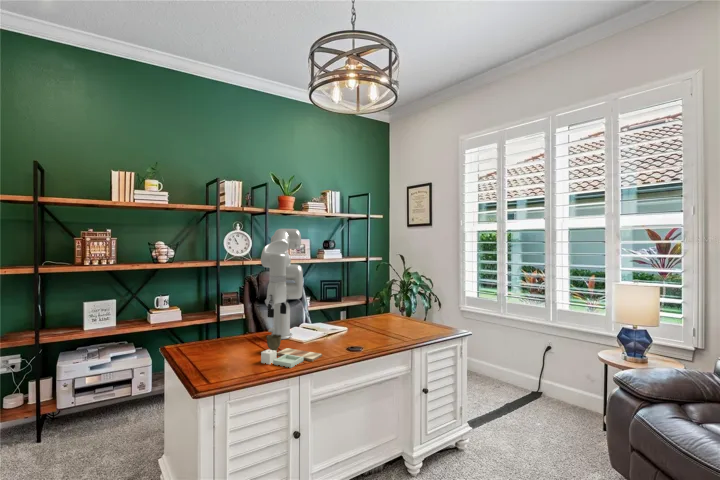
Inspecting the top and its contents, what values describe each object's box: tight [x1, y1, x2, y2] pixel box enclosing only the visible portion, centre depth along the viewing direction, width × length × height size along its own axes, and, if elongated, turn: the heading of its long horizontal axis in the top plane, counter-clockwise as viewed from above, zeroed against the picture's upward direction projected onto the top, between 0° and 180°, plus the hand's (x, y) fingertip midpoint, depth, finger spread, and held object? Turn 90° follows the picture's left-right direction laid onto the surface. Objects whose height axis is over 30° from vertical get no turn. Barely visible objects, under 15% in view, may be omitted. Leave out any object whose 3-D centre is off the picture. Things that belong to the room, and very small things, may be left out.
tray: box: [272, 354, 305, 369], centre depth 172 cm, size 10×10×2 cm
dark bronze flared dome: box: [266, 334, 282, 351], centre depth 190 cm, size 8×7×8 cm
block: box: [260, 348, 278, 365], centre depth 173 cm, size 5×5×5 cm
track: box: [277, 347, 323, 363], centre depth 183 cm, size 21×9×1 cm, turn 65°
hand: (277, 315), depth 175 cm, fingers open, 9 cm apart
